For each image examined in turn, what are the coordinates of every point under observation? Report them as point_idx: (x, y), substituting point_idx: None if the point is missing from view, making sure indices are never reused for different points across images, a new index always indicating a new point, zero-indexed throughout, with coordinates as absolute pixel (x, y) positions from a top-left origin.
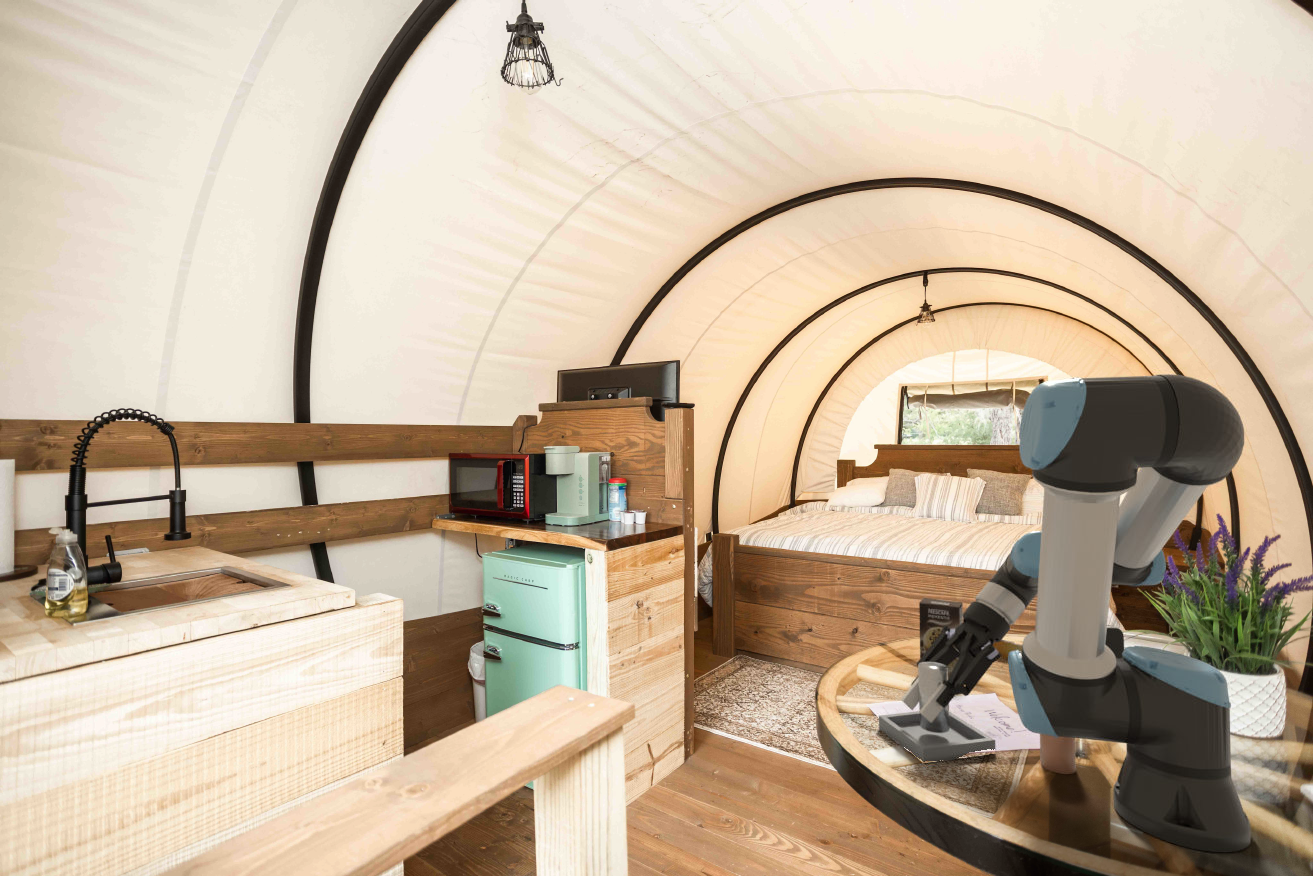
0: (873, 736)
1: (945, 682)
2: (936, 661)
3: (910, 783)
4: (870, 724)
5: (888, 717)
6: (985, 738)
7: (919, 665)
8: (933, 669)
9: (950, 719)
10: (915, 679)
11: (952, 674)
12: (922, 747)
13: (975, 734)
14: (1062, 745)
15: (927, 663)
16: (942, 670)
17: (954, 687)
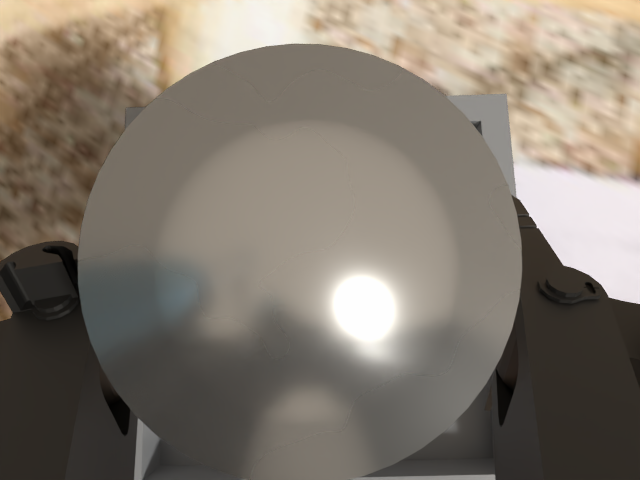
0: (418, 65)
1: (33, 250)
2: (537, 474)
3: (42, 14)
4: (536, 108)
5: (482, 133)
6: (136, 473)
7: (382, 77)
8: (173, 178)
9: (434, 468)
10: (534, 228)
11: (38, 403)
12: (139, 113)
13: (228, 474)
14: None
15: (437, 240)
16: (95, 284)
17: (3, 330)
